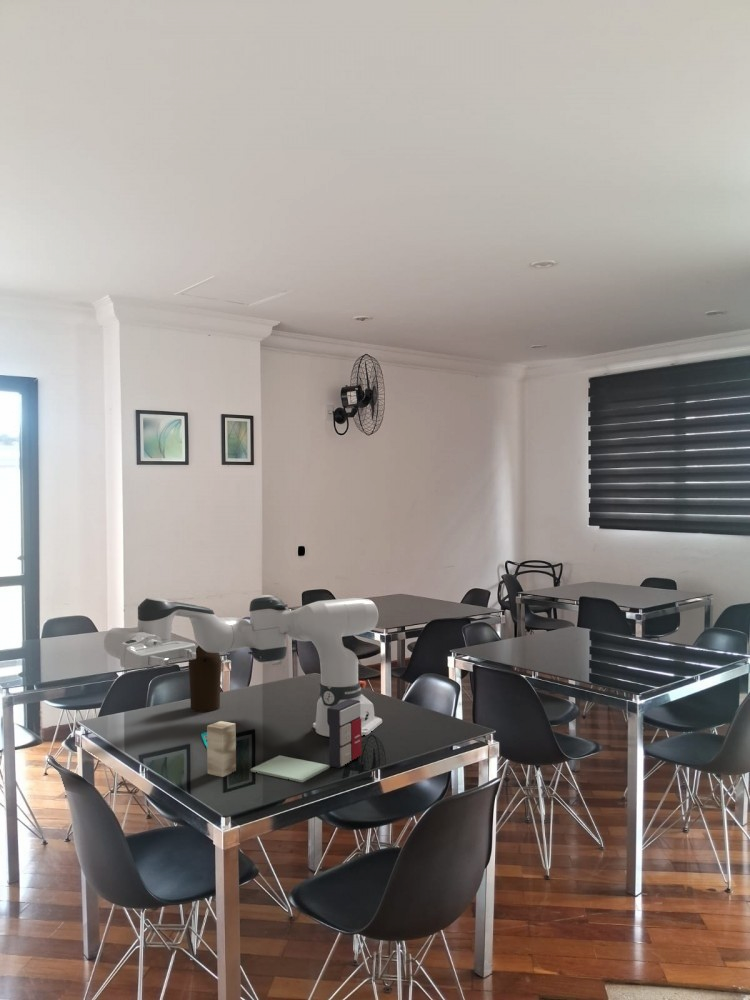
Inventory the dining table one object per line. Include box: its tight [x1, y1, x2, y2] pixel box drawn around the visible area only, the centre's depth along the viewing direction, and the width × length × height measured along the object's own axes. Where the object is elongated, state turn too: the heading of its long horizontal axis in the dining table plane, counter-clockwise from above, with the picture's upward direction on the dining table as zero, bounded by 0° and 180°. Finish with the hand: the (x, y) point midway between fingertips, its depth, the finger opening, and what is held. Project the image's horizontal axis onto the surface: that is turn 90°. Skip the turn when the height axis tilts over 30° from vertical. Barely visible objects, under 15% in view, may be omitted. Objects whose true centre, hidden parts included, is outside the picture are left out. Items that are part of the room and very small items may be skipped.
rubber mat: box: [250, 754, 331, 783], centre depth 199 cm, size 12×16×1 cm
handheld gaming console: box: [200, 731, 207, 749], centre depth 224 cm, size 8×1×15 cm
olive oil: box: [188, 645, 222, 713], centre depth 258 cm, size 11×11×25 cm
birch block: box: [206, 720, 237, 778], centre depth 197 cm, size 5×5×12 cm
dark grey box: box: [327, 699, 362, 769], centre depth 204 cm, size 11×4×15 cm, turn 151°
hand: (180, 659), depth 207 cm, fingers open, 8 cm apart
